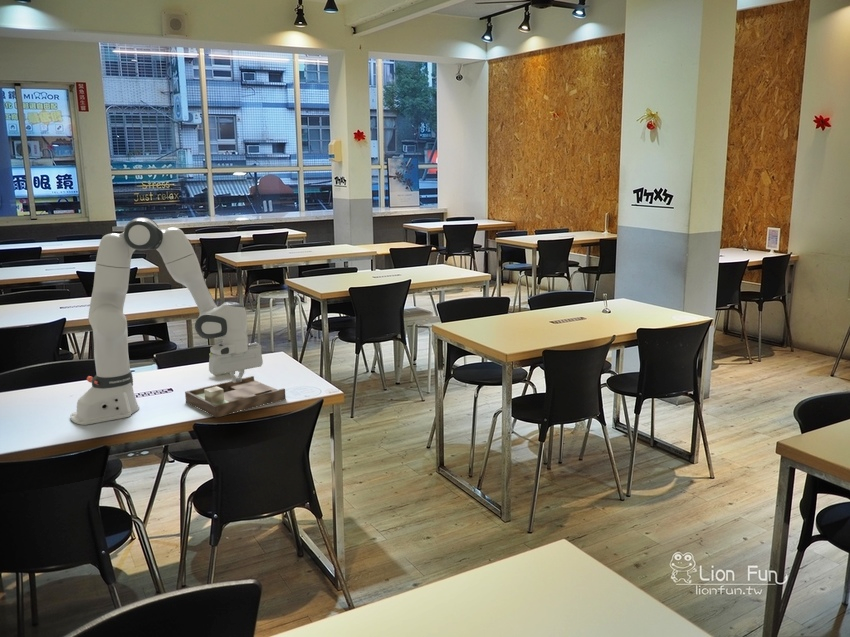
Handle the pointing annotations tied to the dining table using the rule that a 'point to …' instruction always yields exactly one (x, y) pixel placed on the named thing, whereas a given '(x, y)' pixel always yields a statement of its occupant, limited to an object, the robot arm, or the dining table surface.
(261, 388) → the box
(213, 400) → the cream block
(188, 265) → the robot arm
